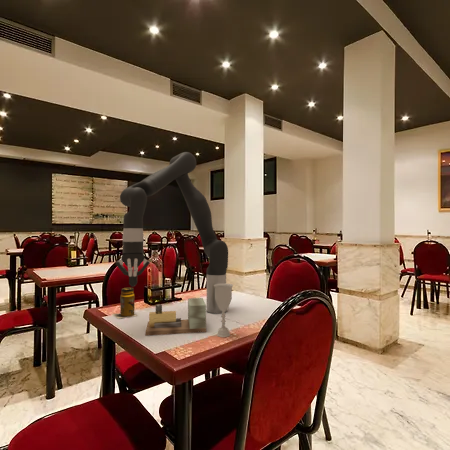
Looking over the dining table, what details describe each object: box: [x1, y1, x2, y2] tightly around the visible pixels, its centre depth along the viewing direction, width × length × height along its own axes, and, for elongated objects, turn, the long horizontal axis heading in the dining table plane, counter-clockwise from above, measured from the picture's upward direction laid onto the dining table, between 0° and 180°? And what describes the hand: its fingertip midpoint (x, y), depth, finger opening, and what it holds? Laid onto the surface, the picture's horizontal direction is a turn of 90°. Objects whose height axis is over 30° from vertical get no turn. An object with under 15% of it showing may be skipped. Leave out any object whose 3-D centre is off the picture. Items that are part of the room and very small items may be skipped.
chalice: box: [214, 283, 234, 338], centre depth 112 cm, size 7×7×18 cm
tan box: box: [148, 303, 177, 327], centre depth 118 cm, size 10×3×8 cm, turn 100°
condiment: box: [113, 287, 138, 320], centre depth 137 cm, size 7×8×12 cm
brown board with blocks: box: [144, 297, 207, 337], centre depth 119 cm, size 22×12×10 cm, turn 100°
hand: (132, 286), depth 116 cm, fingers closed
